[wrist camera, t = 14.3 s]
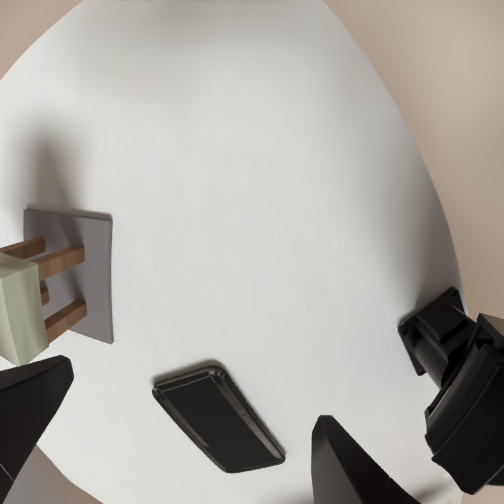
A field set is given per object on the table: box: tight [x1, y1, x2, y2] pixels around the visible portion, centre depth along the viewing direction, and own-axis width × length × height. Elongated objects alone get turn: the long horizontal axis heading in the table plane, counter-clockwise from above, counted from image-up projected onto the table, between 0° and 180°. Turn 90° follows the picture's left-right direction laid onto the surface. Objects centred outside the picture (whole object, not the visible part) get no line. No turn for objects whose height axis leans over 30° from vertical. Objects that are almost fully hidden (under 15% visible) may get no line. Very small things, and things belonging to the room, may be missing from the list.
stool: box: [0, 237, 87, 367], centre depth 17 cm, size 6×6×10 cm
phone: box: [152, 366, 285, 473], centre depth 24 cm, size 8×1×15 cm
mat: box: [24, 209, 114, 344], centre depth 22 cm, size 11×11×1 cm
